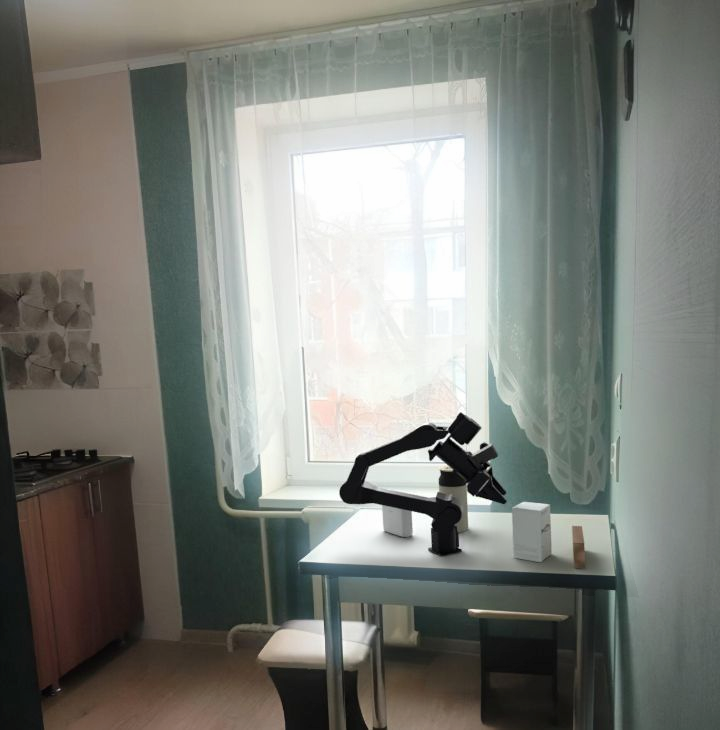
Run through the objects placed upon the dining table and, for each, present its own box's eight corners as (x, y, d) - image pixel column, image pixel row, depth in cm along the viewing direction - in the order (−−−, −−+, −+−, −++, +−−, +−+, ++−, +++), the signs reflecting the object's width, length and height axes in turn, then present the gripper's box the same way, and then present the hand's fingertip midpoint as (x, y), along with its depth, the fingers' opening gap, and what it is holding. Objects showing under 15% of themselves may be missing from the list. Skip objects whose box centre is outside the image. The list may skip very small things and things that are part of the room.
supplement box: (541, 563, 148) (539, 510, 148) (512, 558, 153) (510, 507, 153) (552, 554, 154) (550, 503, 154) (524, 549, 159) (522, 500, 159)
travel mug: (473, 528, 180) (471, 466, 179) (458, 535, 174) (455, 471, 173) (450, 524, 185) (448, 464, 185) (435, 530, 179) (432, 468, 179)
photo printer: (381, 531, 181) (379, 489, 181) (392, 528, 184) (390, 486, 183) (403, 538, 173) (401, 494, 172) (415, 535, 175) (413, 492, 175)
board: (574, 568, 144) (573, 542, 144) (572, 549, 157) (572, 525, 157) (585, 568, 143) (584, 543, 143) (582, 549, 157) (582, 526, 157)
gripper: (475, 439, 149) (527, 482, 146) (478, 429, 167) (524, 467, 164) (446, 474, 150) (497, 517, 148) (452, 460, 169) (498, 498, 166)
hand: (505, 498), depth 157 cm, fingers open, 9 cm apart
